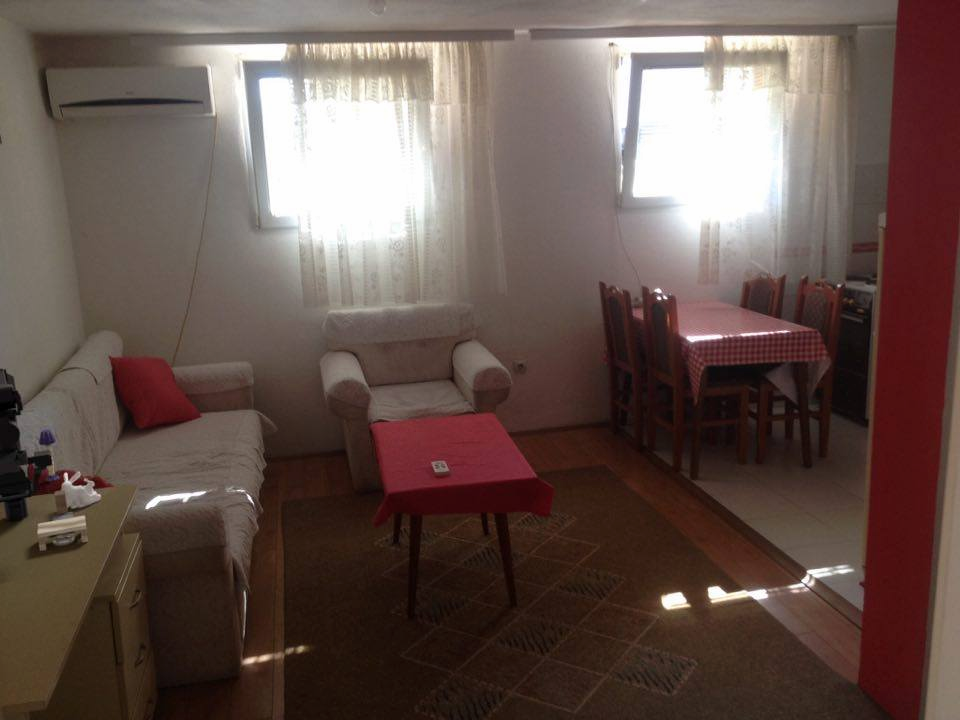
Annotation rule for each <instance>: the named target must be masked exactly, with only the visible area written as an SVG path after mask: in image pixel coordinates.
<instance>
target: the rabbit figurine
mask: <svg viewBox="0 0 960 720" xmlns="http://www.w3.org/2000/svg"><path fill="white" fill-rule="evenodd" d="M81 476H82V475H81V472H80V471H77V472H76V473H75V474H74V475H72V476H71V478H70V479H69V476H68V472H64V473H63V480H64V482H62V484H61V489H60V491H62V490H65V496H66V503H67V509H68V508H70V509H76V508H83V507H86V506H89V505H90V506H91V505H93V504H94V503H97V502H99V501H100V500H101V497H102V495H101V494H99V493H97V491H95V490H94V486H95V482H94V481H92V480H89V479H88V478H85V477H84V478H83V481H84V482H86V483H87V484H86V485H82V484H80V485H73V483H74V482H75V481H77V480H78V479H79V478H80V477H81ZM92 503H93V504H92ZM55 512H56V513H57V510H56V511H55Z"/></svg>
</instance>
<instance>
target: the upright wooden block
mask: <svg viewBox="0 0 960 720" xmlns="http://www.w3.org/2000/svg"><path fill="white" fill-rule="evenodd" d="M54 499H55V506H56V511H57V512H56V514H53V515H51V521H56V520H61V519H67V518H72V517H75V516H74V511H69V510H68V508H67V503H66V496H65V490H62V491H61V490H58V491H57V490H56V491H54ZM68 511H69V512H68ZM75 532H76V531H72V532H67V533H75ZM67 533H61V534H67ZM61 534H56V535H52V536H53V537H55V536H58V535H61Z"/></svg>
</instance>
